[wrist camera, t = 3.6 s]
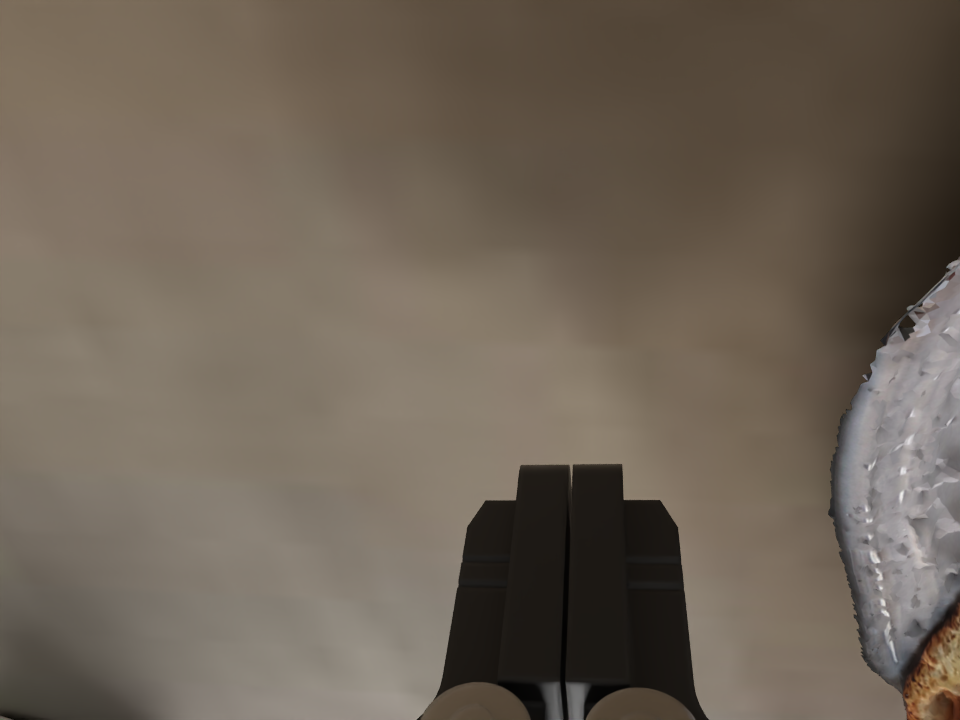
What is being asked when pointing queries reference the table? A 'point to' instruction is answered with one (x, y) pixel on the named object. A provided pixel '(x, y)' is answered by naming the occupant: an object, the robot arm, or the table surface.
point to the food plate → (907, 505)
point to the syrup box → (4, 718)
